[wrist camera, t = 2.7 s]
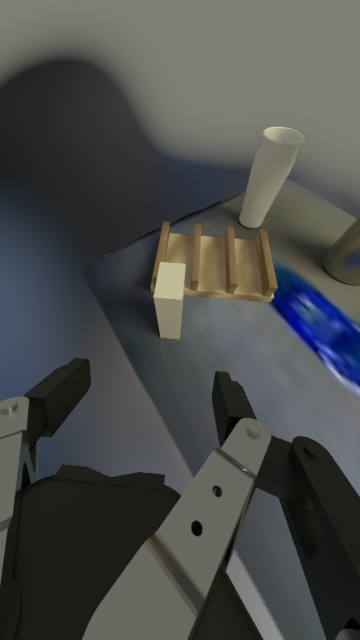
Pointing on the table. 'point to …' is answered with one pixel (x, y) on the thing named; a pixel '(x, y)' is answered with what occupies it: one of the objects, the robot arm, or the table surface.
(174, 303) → the cream rectangular block
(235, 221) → the table surface
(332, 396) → the table surface
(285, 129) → the drinking glass
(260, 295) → the ridged wooden tray
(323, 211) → the table surface
